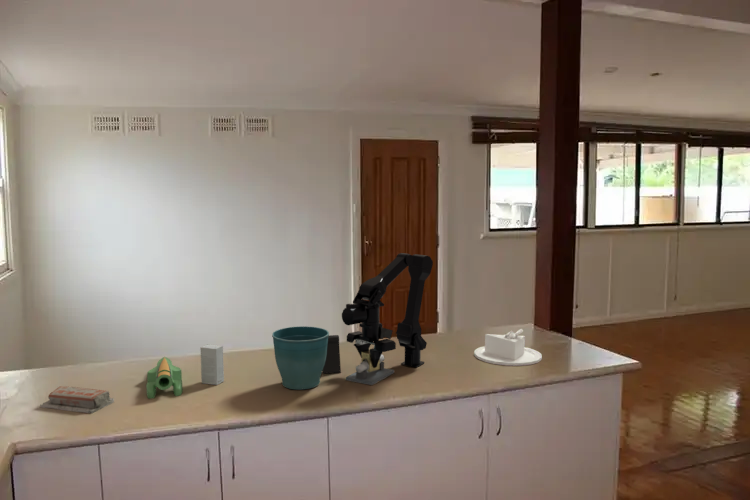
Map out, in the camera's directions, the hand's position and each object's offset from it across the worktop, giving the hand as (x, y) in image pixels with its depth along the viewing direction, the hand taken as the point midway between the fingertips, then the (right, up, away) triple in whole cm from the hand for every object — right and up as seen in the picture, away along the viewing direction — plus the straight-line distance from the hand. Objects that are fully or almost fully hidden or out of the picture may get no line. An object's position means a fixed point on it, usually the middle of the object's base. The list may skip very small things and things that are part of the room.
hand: (370, 366), depth 206 cm
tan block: (0, -1, 0) cm, 1 cm away
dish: (+51, -1, +25) cm, 57 cm away
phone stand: (-14, -3, +8) cm, 16 cm away
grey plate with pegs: (0, -4, 0) cm, 4 cm away
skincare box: (-51, -4, -6) cm, 52 cm away
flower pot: (-22, -5, -8) cm, 24 cm away
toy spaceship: (-67, -4, -5) cm, 68 cm away
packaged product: (-85, -7, -26) cm, 90 cm away
